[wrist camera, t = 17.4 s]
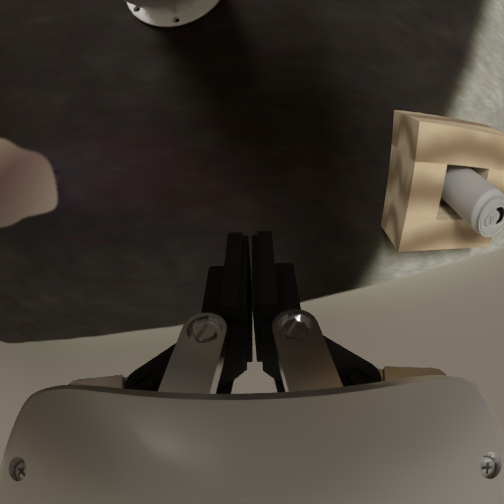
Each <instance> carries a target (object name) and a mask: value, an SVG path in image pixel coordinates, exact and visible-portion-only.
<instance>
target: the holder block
mask: <svg viewBox="0 0 504 504" xmlns="http://www.w3.org/2000/svg"><path fill="white" fill-rule="evenodd" d="M447 164H451V165H460V166H468V167H469V168H471V169H472V170H473V171H475V172H476V173H478V174H479V175H480V176H482V177H483V178H484V179H486V180H487V181H488V182H490V183H491V184H492V185H494V186H495V187H496V188H498V189H499V190H500V191H501V192H502V193H503V194H504V133H502V132H500V131H498V130H496V129H494V128H492V127H489V126H487V125H483V124H478V123H474V122H469V121H464V120H459V119H454V118H448V117H442V116H436V115H430V114H423V113H416V112H408V111H400V110H394V122H393V135H392V146H391V156H390V165H389V174H388V182H387V189H386V196H385V203H384V210H383V216H382V222H381V226H382V228H383V229H384V231H385V232H386V234H387V235H388V237H389V239H390V240H391V242H392V243H393V245H394V247H395V248H396V250H397V251H398V252H408V251H425V250H442V249H458V248H474V247H488V246H489V244H490V241H491V238H492V237H484V236H483V235H482V234H478V233H476V232H475V231H474V230H473V229H472V228H471V227H470V226H469V225H468V224H467V223H466V222H465V221H464V220H463V218H462V217H461V216H460V215H459V214H458V213H457V212H456V211H455V210H454V209H453V208H452V207H451V206H449V205H448V204H447V203H446V202H445V201H440V199H441V194H442V190H443V185H444V179H445V174H446V169H447Z"/></svg>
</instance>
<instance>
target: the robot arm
mask: <svg viewBox="0 0 504 504" xmlns="http://www.w3.org/2000/svg"><path fill="white" fill-rule="evenodd" d="M123 1H125V2H126V3H127V5H128V8H129V9H130V11H131V12H132V13H133V15H135V16H136V17H137V18H138V19H139V20H141V21H143V22H145V23H147V24H151V25H154V26H159V27H176V26H182V25H185V24H189V23H191V22H193V21H196V20H198V19H200V18H201V17H203V16H204V15H206V14H208V13H209V12H210V11H211V10H212V9H213V8H214V7H215V6H216V5H217V4H218V2H219V1H220V0H123ZM139 8H140V10H139V11H138V9H139ZM176 19H179V22H176ZM257 233H258V235H252V281H251V268H250V256H249V243H248V236H243V234H242V232H238V233H228V238H227V246H226V255H225V263H224V266H212V267H209V272H208V277H207V283H206V289H205V295H204V301H203V307H202V313H201V314H197V315H195V316H193V317H191V318H190V319H188V320H187V321H186V322H185V324H184V326H183V328H182V330H181V333H180V335H179V338H178V340H177V343H176V344H174V345H172V346H171V347H169V348H168V349H167V350H165V351H164V352H162V353H161V354H159V355H158V356H156V357H155V358H153V359H152V360H150V361H149V362H147V363H146V364H144V365H143V366H141V367H140V368H138V369H137V370H135V371H134V372H133V373H131V374H130V375H129V377H124V376H123V375H114V376H105V377H96V378H85V379H77V380H73V381H72V382H70V383H69V384H68V385H60V386H54V387H49V388H45V389H43V390H40V391H38V392H35V393H34V394H32V395H31V396H30V397H29V398H28V399H27V400H26V402H25V403H24V404H23V406H22V408H21V410H20V412H19V414H18V416H17V418H16V420H15V423H14V425H13V428H12V430H11V433H10V436H9V439H8V442H7V445H6V449H5V452H4V456H3V460H2V463H1V468H0V504H504V431H503V428H502V425H501V423H500V420H499V418H498V415H497V413H496V411H495V409H494V407H493V405H492V403H491V401H490V399H489V398H488V396H487V394H486V393H485V392H484V391H483V389H482V388H481V387H480V386H479V385H477V384H476V383H474V382H472V381H470V380H467V379H464V378H460V377H454V376H447V375H446V374H445V373H444V372H443V371H441V370H440V369H436V368H417V367H416V368H415V367H390V366H385V367H384V369H377V368H376V367H375V366H374V365H372V364H371V363H369V362H368V361H366V360H364V359H362V358H361V357H359V356H357V355H355V354H354V353H352V352H350V351H349V350H347V349H345V348H343V347H342V346H340V345H339V344H337V343H335V342H333V341H332V340H330V339H328V338H326V337H325V336H323V335H322V332H321V330H320V327H319V325H318V322H317V320H316V319H315V317H314V316H313V315H311V314H310V313H308V312H306V311H304V310H301V307H300V301H299V295H298V289H297V283H296V277H295V272H294V266H293V263H276V264H275V263H274V253H273V243H272V233H271V231H257ZM252 307H253V320H254V332H255V343H256V355H257V362H263V371H264V372H266V373H267V374H269V375H270V376H271V377H273V384H274V388H275V392H276V393H253V394H234V393H235V388H236V384H237V377H238V376H239V375H241V374H242V373H243V372H244V371H245V370H247V362H252Z"/></svg>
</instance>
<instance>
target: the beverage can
mask: <svg viewBox="0 0 504 504" xmlns="http://www.w3.org/2000/svg"><path fill="white" fill-rule="evenodd" d="M441 198H442V199H443V200H444V201H445V202H446V203H447V204H448V205H449V206H451V207H452V208H453V209H454V210H455V211H456V212H457V213H458V214H459V215H460V216H461V217H462V218H463V220H464V221H465V222H466V223H467V224H468V225H469V226H470V227H471V228H472V229H473V230H474V231H475V232H476V233H478V234H482V235H483V236H484V237H492V236H495V235H496V234H498V233H499V232H500V231H501V230H502V229H503V228H504V194H503V193H502V192H501V191H500V190H499V189H498V188H496V187H495V186H494V185H492V184H491V183H490V182H488V181H487V180H486V179H484V178H483V177H482V176H480V175H479V174H478V173H476V172H475V171H473V170H472V169H471V168H469V167H468V166H460V165H451V164H447V169H446V174H445V179H444V185H443V190H442V194H441Z"/></svg>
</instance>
